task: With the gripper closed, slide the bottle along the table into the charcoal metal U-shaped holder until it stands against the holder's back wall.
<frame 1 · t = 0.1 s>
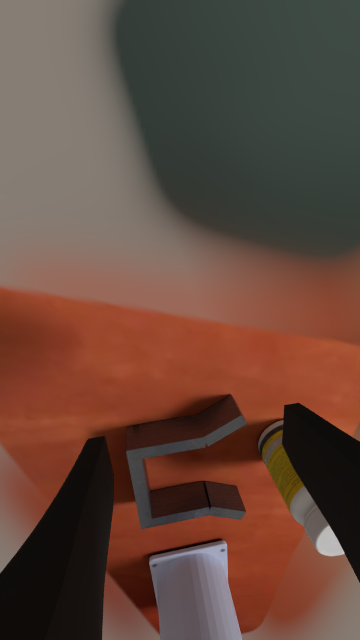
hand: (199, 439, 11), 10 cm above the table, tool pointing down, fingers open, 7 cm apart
u holder: (178, 458, 25), on the table
supplement bottle: (280, 437, 26), on the table
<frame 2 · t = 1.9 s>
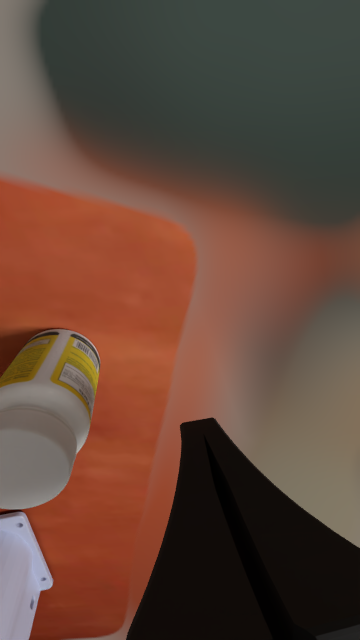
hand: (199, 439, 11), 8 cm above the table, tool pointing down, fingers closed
supplement bottle: (63, 359, 19), on the table
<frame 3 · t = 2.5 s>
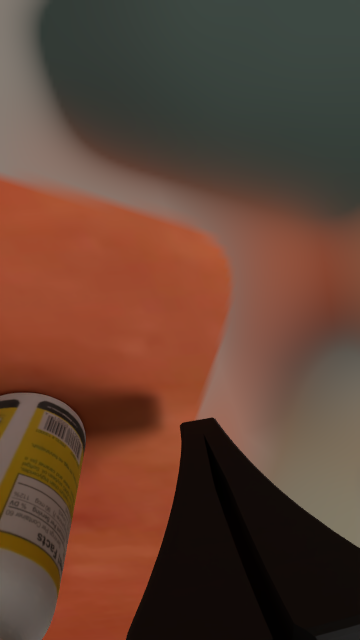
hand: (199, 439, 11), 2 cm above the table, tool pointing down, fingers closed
supplement bottle: (31, 431, 13), on the table
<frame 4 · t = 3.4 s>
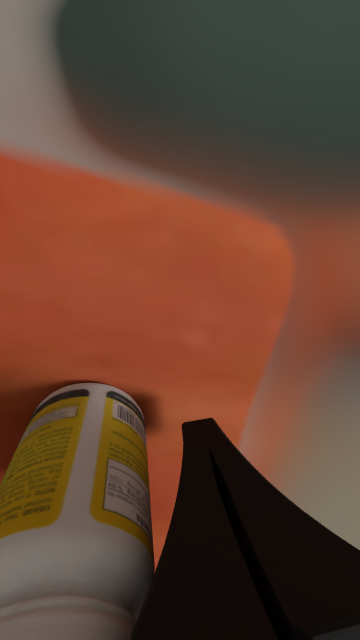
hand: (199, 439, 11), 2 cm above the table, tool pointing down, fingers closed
supplement bottle: (91, 421, 13), on the table, touching gripper
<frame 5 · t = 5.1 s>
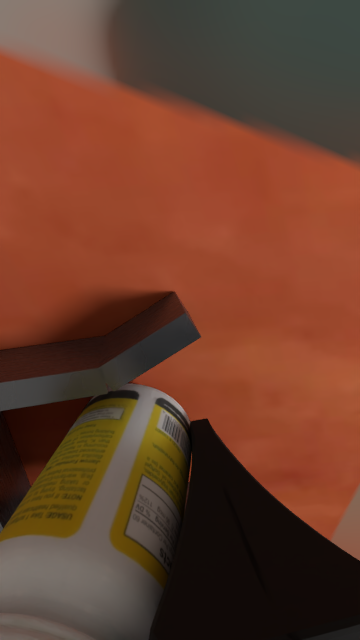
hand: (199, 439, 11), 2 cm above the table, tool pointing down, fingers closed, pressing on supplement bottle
u holder: (79, 429, 13), on the table
supplement bottle: (140, 423, 13), point 1 cm above the table, touching gripper
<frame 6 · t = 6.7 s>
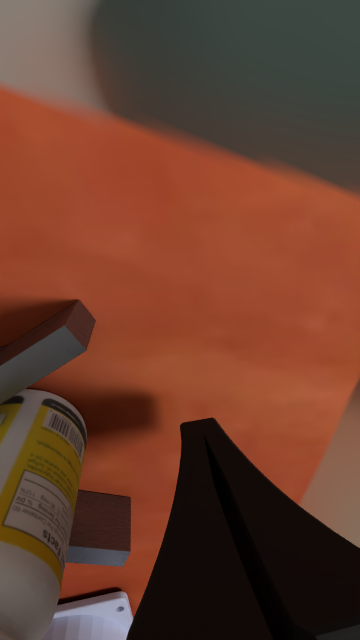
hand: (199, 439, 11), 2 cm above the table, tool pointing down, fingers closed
supplement bottle: (32, 428, 13), on the table
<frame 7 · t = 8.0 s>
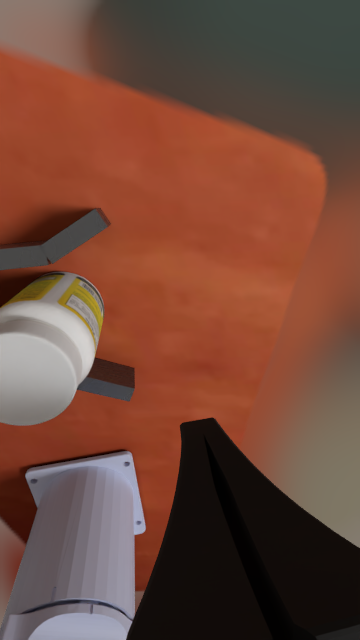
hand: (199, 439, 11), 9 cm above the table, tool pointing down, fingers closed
u holder: (39, 313, 18), on the table
supplement bottle: (67, 306, 18), on the table
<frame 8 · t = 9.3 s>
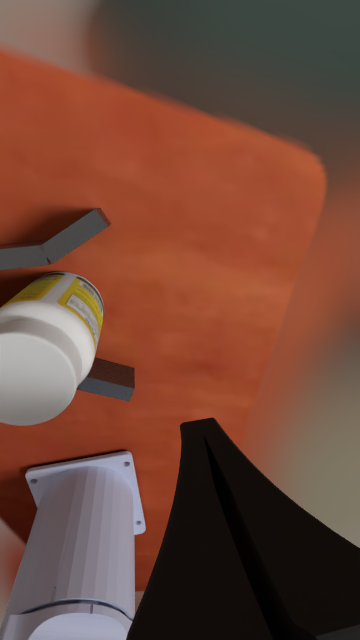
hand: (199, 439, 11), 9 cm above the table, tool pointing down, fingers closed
u holder: (39, 313, 18), on the table
supplement bottle: (67, 306, 18), on the table
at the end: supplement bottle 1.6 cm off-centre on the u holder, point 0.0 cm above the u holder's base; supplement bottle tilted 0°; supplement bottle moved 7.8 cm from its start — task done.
